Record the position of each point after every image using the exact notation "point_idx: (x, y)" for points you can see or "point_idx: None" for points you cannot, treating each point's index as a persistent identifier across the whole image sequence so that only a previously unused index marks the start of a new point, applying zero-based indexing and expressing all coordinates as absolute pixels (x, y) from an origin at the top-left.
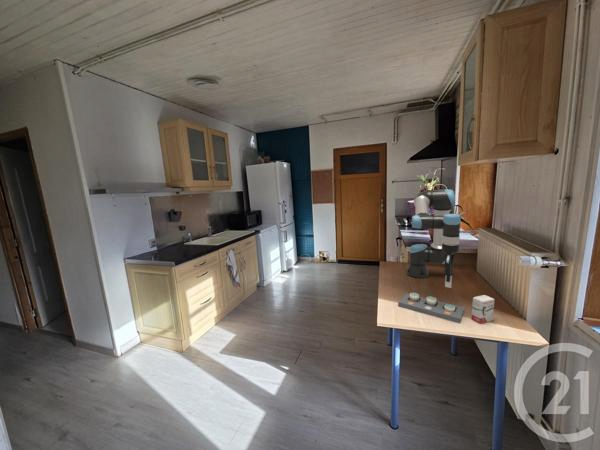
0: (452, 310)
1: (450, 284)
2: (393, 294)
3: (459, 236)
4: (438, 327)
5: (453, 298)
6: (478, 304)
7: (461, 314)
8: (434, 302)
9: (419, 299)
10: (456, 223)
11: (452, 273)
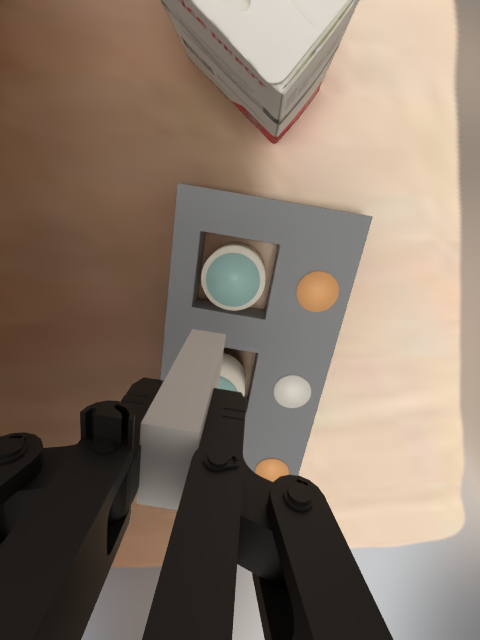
0: (260, 260)
1: (219, 358)
2: (156, 527)
3: None
4: (448, 325)
5: (13, 244)
6: (328, 50)
7: (303, 207)
8: (236, 371)
9: None
10: None
11: (82, 432)
